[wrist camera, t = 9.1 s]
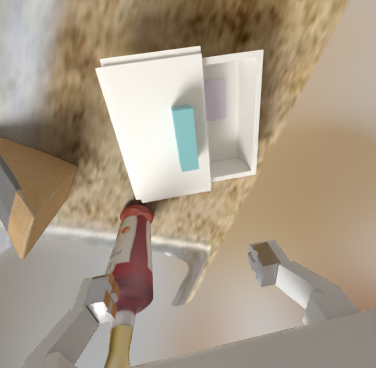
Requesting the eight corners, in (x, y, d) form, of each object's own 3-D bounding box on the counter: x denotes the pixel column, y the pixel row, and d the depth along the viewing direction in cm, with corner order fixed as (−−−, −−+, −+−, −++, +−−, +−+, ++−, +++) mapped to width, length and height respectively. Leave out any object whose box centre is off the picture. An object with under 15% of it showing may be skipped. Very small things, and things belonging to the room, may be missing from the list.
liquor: (129, 195, 40) (89, 374, 16) (160, 208, 43) (165, 378, 19) (114, 219, 43) (60, 407, 19) (144, 230, 45) (132, 406, 21)
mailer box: (173, 64, 30) (178, 61, 24) (241, 54, 31) (263, 49, 25) (187, 167, 39) (193, 185, 33) (240, 158, 40) (255, 174, 34)
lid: (97, 61, 24) (82, 57, 19) (196, 48, 25) (207, 41, 20) (138, 196, 34) (135, 217, 29) (207, 183, 35) (216, 202, 30)
